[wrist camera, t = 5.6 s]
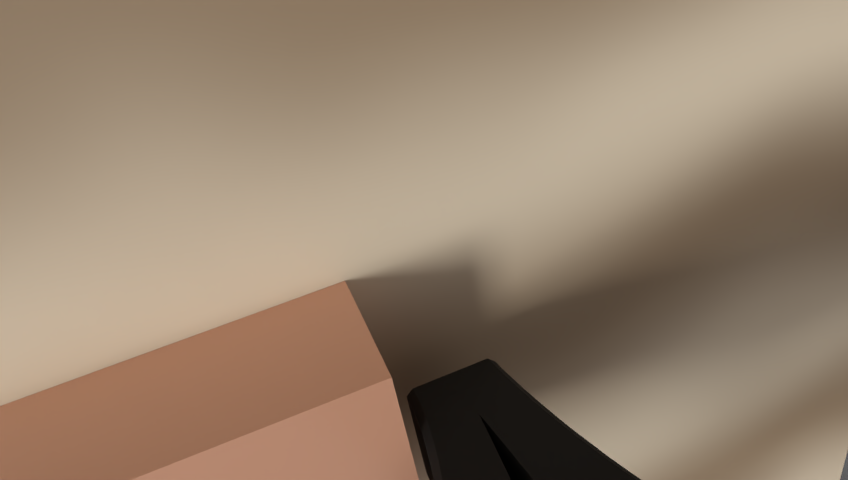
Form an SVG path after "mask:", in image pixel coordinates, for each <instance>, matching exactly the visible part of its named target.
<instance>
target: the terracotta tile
mask: <svg viewBox="0 0 848 480" xmlns="http://www.w3.org/2000/svg"><path fill="white" fill-rule="evenodd" d="M0 480H419V478H418V475H417V471H416V467H415V463H414V459H413V456H412V452H411V448H410V444H409V441H408V437H407V433H406V429H405V426H404V422H403V418H402V414H401V410H400V407H399V403H398V399H397V395H396V392H395V388H394V384H393V380H392V377H391V375H390V373H389V371H388V369H387V367H386V365H385V362H384V360H383V358H382V356H381V354H380V352H379V350H378V348H377V346H376V344H375V342H374V340H373V338H372V336H371V334H370V331H369V329H368V327H367V325H366V323H365V321H364V319H363V317H362V315H361V313H360V311H359V309H358V307H357V305H356V303H355V300H354V298H353V296H352V294H351V292H350V290H349V288H348V286H347V284H346V282H345V281H343V282H340V283H337V284H335V285H332V286H329V287H326V288H324V289H321V290H318V291H315V292H313V293H310V294H307V295H304V296H302V297H299V298H296V299H293V300H291V301H288V302H285V303H282V304H280V305H277V306H274V307H271V308H269V309H266V310H263V311H260V312H258V313H255V314H252V315H249V316H247V317H244V318H241V319H238V320H236V321H233V322H230V323H227V324H225V325H222V326H219V327H216V328H214V329H211V330H208V331H205V332H203V333H200V334H197V335H194V336H192V337H189V338H186V339H183V340H181V341H178V342H175V343H172V344H170V345H167V346H164V347H161V348H159V349H156V350H153V351H150V352H148V353H145V354H142V355H139V356H137V357H134V358H131V359H128V360H126V361H123V362H120V363H117V364H115V365H112V366H109V367H106V368H104V369H101V370H98V371H95V372H93V373H90V374H87V375H84V376H82V377H79V378H76V379H73V380H71V381H68V382H65V383H62V384H60V385H57V386H54V387H51V388H49V389H46V390H43V391H40V392H38V393H35V394H32V395H29V396H27V397H24V398H21V399H18V400H16V401H13V402H10V403H7V404H5V405H2V406H0Z"/></svg>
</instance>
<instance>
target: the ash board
mask: <svg viewBox="0 0 848 480" xmlns="http://www.w3.org/2000/svg"><path fill="white" fill-rule="evenodd" d="M343 281H345V282H346V284H347V286H348V288H349V290H350V292H351V294H352V296H353V298H354V300H355V303H356V305H357V307H358V309H359V311H360V313H361V315H362V317H363V319H364V321H365V323H366V325H367V327H368V329H369V331H370V334H371V336H372V338H373V340H374V342H375V344H376V346H377V348H378V350H379V352H380V354H381V356H382V358H383V360H384V362H385V365H386V367H387V369H388V371H389V373H390V375H391V377H392V380H393V384H394V388H395V392H396V395H397V399H398V403H399V407H400V410H401V414H402V418H403V422H404V426H405V429H406V433H407V437H408V441H409V444H410V448H411V452H412V456H413V459H414V463H415V467H416V471H417V475H418V478H419V480H429V478H428V475H427V473H426V469H425V466H424V462H423V458H422V454H421V450H420V446H419V443H418V439H417V435H416V431H415V427H414V423H413V420H412V416H411V412H410V408H409V404H408V400H407V395H408V394H409V393H410V391H411V390H412V388H415V387H417V386H420V385H422V384H425V383H427V382H430V381H432V380H435V379H437V378H440V377H442V376H445V375H447V374H450V373H452V372H455V371H457V370H460V369H462V368H465V367H467V366H470V365H472V364H475V363H477V362H480V361H482V360H485V359H487V358H488V359H490V360H493V361H495V362H496V363H497V364H498V365H499V366H500V367H501V368H502V369H503V370H504V371H505V372H507V373H508V374H509V375H510V376H511V377H512V378H513V379H514V380H515V381H516V382H517V383H518V384H519V385H521V386H522V387H523V388H524V389H525V390H526V391H527V392H528V393H530V394H531V395H532V396H533V397H534V398H535V399H536V400H538V401H539V402H540V403H541V404H542V405H544V406H545V407H546V408H547V409H548V410H549V411H551V412H552V413H553V414H554V415H555V416H557V417H558V418H559V419H560V420H562V421H563V422H564V423H565V424H567V425H568V426H569V427H570V428H572V429H573V430H574V431H575V432H577V433H578V434H579V435H581V436H582V437H583V438H585V439H586V440H587V441H589V442H590V443H591V444H593V445H594V446H595V447H597V448H598V449H599V450H600V451H602V452H603V453H604V454H606V455H607V456H608V457H610V458H611V459H613V460H614V461H615V462H617V463H618V464H620V465H621V466H622V467H624V468H625V469H627V470H628V471H629V472H631V473H632V474H634V475H635V476H637V477H638V478H640V479H641V480H840V477H841V473H842V470H843V466H844V462H845V458H846V454H847V450H848V0H0V406H2V405H5V404H7V403H10V402H13V401H16V400H18V399H21V398H24V397H27V396H29V395H32V394H35V393H38V392H40V391H43V390H46V389H49V388H51V387H54V386H57V385H60V384H62V383H65V382H68V381H71V380H73V379H76V378H79V377H82V376H84V375H87V374H90V373H93V372H95V371H98V370H101V369H104V368H106V367H109V366H112V365H115V364H117V363H120V362H123V361H126V360H128V359H131V358H134V357H137V356H139V355H142V354H145V353H148V352H150V351H153V350H156V349H159V348H161V347H164V346H167V345H170V344H172V343H175V342H178V341H181V340H183V339H186V338H189V337H192V336H194V335H197V334H200V333H203V332H205V331H208V330H211V329H214V328H216V327H219V326H222V325H225V324H227V323H230V322H233V321H236V320H238V319H241V318H244V317H247V316H249V315H252V314H255V313H258V312H260V311H263V310H266V309H269V308H271V307H274V306H277V305H280V304H282V303H285V302H288V301H291V300H293V299H296V298H299V297H302V296H304V295H307V294H310V293H313V292H315V291H318V290H321V289H324V288H326V287H329V286H332V285H335V284H337V283H340V282H343Z"/></svg>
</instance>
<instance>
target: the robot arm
mask: <svg viewBox="0 0 848 480" xmlns="http://www.w3.org/2000/svg"><path fill="white" fill-rule="evenodd" d="M407 400H408V404H409V408H410V412H411V416H412V420H413V423H414V427H415V431H416V435H417V439H418V443H419V446H420V450H421V454H422V458H423V462H424V466H425V469H426V473H427V475H428V478H429V480H641V479H640V478H638V477H637V476H635V475H634V474H632V473H631V472H629V471H628V470H627V469H625V468H624V467H622V466H621V465H620V464H618V463H617V462H615V461H614V460H613V459H611V458H610V457H608V456H607V455H606V454H604V453H603V452H602V451H600V450H599V449H598V448H597V447H595V446H594V445H593V444H591V443H590V442H589V441H587V440H586V439H585V438H583V437H582V436H581V435H579V434H578V433H577V432H575V431H574V430H573V429H572V428H570V427H569V426H568V425H567V424H565V423H564V422H563V421H562V420H560V419H559V418H558V417H557V416H555V415H554V414H553V413H552V412H551V411H549V410H548V409H547V408H546V407H545V406H544V405H542V404H541V403H540V402H539V401H538V400H536V399H535V398H534V397H533V396H532V395H531V394H530V393H528V392H527V391H526V390H525V389H524V388H523V387H522V386H521V385H519V384H518V383H517V382H516V381H515V380H514V379H513V378H512V377H511V376H510V375H509V374H508V373H507V372H505V371H504V370H503V369H502V368H501V367H500V366H499V365H498V364H497V363H496V362H495V361H493V360H490V359H488V358H487V359H485V360H482V361H480V362H477V363H475V364H472V365H470V366H467V367H465V368H462V369H460V370H457V371H455V372H452V373H450V374H447V375H445V376H442V377H440V378H437V379H435V380H432V381H430V382H427V383H425V384H422V385H420V386H417V387H415V388H412V390H411V391H410V393H409V394H408V395H407Z"/></svg>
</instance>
